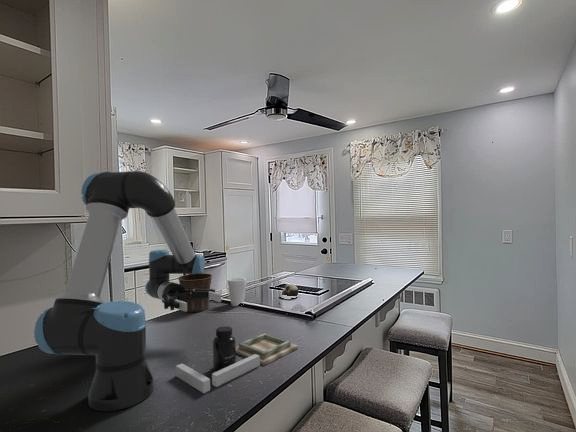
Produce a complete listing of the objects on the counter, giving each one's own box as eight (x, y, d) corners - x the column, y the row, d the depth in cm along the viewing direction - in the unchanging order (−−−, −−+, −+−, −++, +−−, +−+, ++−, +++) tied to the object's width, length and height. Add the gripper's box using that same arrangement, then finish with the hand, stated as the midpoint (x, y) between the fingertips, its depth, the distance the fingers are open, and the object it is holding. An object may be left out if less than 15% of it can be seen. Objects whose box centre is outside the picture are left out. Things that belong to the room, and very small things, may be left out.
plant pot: (195, 315, 149) (194, 280, 149) (171, 311, 157) (170, 277, 157) (219, 306, 163) (219, 274, 163) (196, 302, 171) (195, 272, 171)
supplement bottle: (231, 374, 94) (230, 333, 94) (209, 372, 96) (208, 332, 95) (239, 363, 101) (238, 325, 101) (218, 362, 102) (217, 324, 102)
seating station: (264, 365, 100) (264, 357, 100) (231, 351, 110) (231, 343, 110) (297, 348, 112) (297, 341, 111) (265, 337, 122) (265, 330, 122)
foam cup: (245, 306, 162) (244, 280, 162) (226, 307, 163) (226, 281, 162) (247, 301, 172) (247, 277, 172) (230, 301, 172) (229, 277, 172)
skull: (273, 296, 178) (280, 280, 184) (282, 305, 184) (289, 290, 189) (290, 299, 171) (297, 282, 176) (299, 308, 177) (306, 292, 182)
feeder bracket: (203, 393, 85) (203, 381, 85) (175, 376, 94) (175, 365, 94) (259, 365, 99) (259, 355, 99) (231, 353, 109) (230, 344, 109)
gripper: (200, 295, 135) (232, 304, 121) (139, 310, 116) (170, 323, 102) (199, 277, 134) (232, 284, 120) (139, 289, 116) (169, 299, 102)
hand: (204, 302), depth 111 cm, fingers open, 13 cm apart
